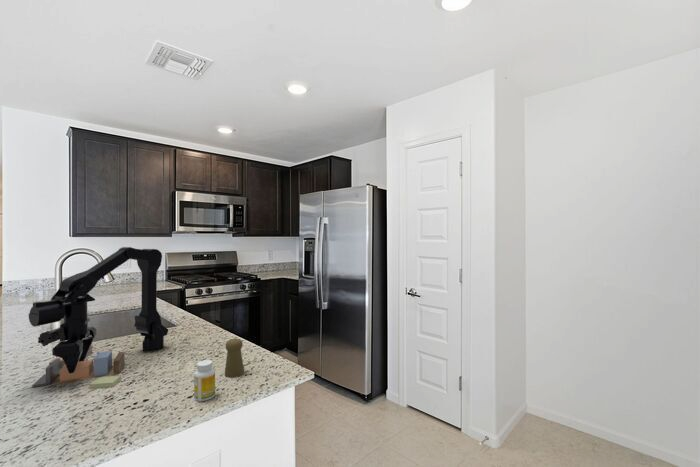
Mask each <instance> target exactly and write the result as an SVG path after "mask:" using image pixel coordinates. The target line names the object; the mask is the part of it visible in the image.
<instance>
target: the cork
mask: <svg viewBox="0 0 700 467" xmlns="http://www.w3.org/2000/svg"><path fill="white" fill-rule="evenodd" d="M243 344H244V343H243V340H241V338H231V339H228V340H227V341H226V343H225V349H226V351H227V353H226V362H225V370H224V376H225V377H226V378H238V377H240V376H243V374H245V368H244V360H243V355H242V348H243Z"/></svg>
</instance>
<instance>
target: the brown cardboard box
mask: <svg viewBox="0 0 700 467" xmlns="http://www.w3.org/2000/svg"><path fill="white" fill-rule="evenodd" d="M93 370H94V359H87V360H84V361H80V362H78V364H77V366H76V369H75V371H74V373H69V371H68V369H67V367H66V365H64V366H63V367H62V368H61V369H60V382H62V381H67V380H73V379H79V378H85V377H89V376H90V375H91V373H92V372H93Z"/></svg>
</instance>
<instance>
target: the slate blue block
mask: <svg viewBox="0 0 700 467" xmlns="http://www.w3.org/2000/svg"><path fill="white" fill-rule="evenodd" d="M112 366H113V351H112V350H107V351H99V353H98V354H96V356H95V357H94V358H93V367H94V376H100V375H106V374H108V373H109V371H110V370H111V368H112Z"/></svg>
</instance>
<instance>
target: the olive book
mask: <svg viewBox="0 0 700 467" xmlns="http://www.w3.org/2000/svg"><path fill="white" fill-rule="evenodd" d="M121 381H122V376H121V375H110V376H104V377H97V378H95V380H94V381H93V382H91V383H89V389H90V390H92V389H104V388H105V389H107V388H113V387H115V386H116V385H118V383H119V382H121Z"/></svg>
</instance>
